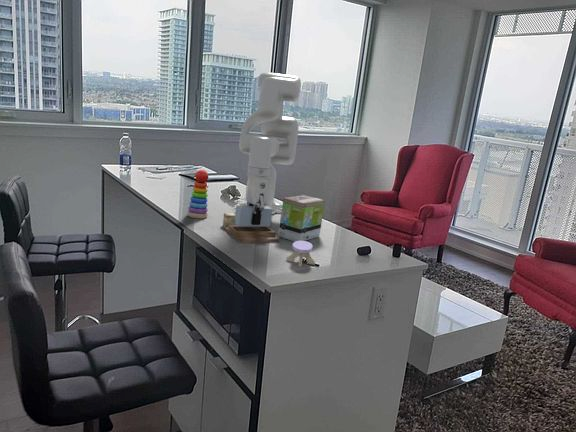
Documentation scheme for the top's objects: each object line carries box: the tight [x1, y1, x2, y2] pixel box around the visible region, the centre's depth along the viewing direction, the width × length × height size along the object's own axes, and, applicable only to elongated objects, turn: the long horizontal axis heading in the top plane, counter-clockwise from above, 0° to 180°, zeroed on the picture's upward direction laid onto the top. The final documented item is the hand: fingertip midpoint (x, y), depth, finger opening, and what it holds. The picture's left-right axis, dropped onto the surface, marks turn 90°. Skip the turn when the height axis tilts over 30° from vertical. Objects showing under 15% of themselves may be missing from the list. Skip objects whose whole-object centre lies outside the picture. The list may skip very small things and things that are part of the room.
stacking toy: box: [186, 169, 209, 219], centre depth 186 cm, size 8×8×19 cm
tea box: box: [277, 194, 326, 242], centre depth 175 cm, size 15×10×15 cm
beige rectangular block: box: [222, 212, 236, 228], centre depth 180 cm, size 12×4×5 cm, turn 116°
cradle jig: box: [224, 225, 281, 243], centre depth 170 cm, size 15×16×2 cm
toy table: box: [286, 240, 316, 268], centre depth 147 cm, size 10×9×6 cm
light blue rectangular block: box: [235, 205, 273, 227], centre depth 169 cm, size 12×4×6 cm, turn 116°
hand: (252, 222), depth 169 cm, fingers closed on light blue rectangular block, 4 cm apart
